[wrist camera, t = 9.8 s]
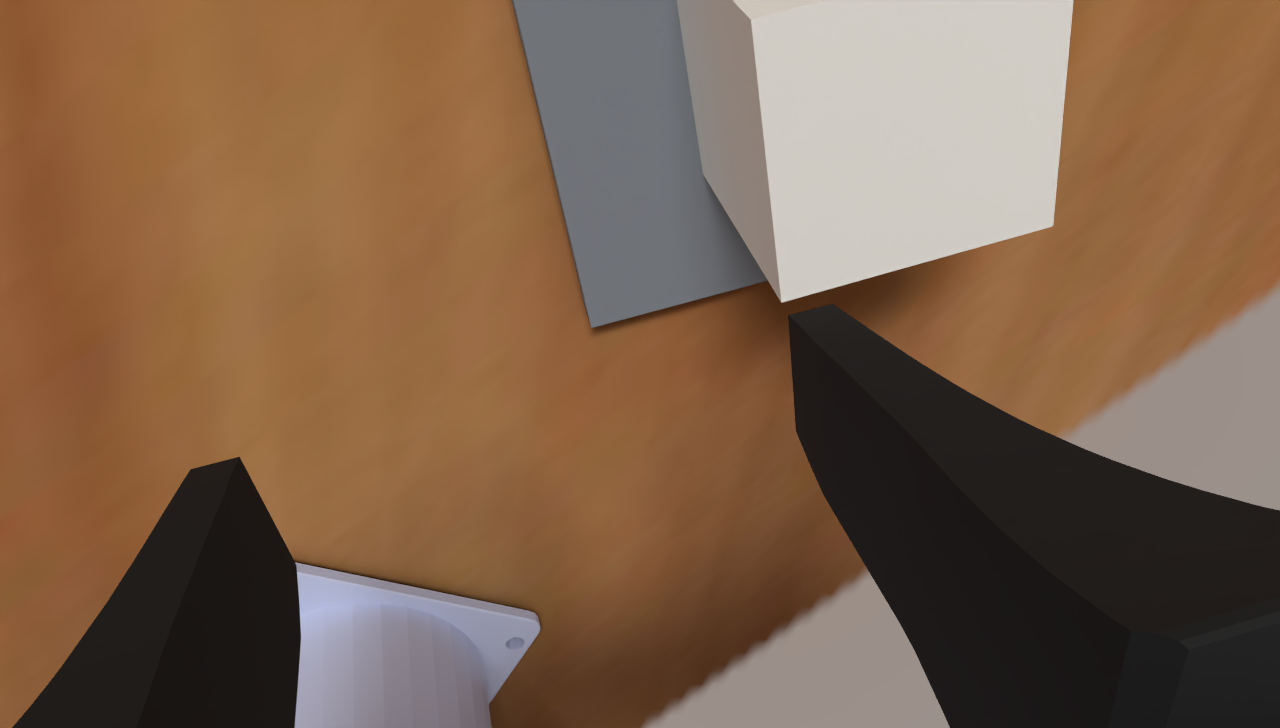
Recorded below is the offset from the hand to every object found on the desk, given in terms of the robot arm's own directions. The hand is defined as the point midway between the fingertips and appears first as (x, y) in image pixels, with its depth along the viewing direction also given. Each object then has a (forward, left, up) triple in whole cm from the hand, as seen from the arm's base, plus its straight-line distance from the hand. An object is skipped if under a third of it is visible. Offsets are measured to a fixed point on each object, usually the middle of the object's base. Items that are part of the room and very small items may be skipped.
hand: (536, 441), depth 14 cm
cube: (+5, -5, -9) cm, 11 cm away
